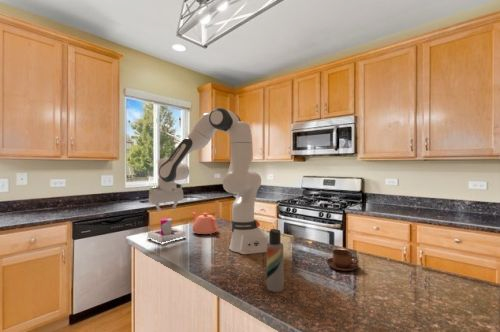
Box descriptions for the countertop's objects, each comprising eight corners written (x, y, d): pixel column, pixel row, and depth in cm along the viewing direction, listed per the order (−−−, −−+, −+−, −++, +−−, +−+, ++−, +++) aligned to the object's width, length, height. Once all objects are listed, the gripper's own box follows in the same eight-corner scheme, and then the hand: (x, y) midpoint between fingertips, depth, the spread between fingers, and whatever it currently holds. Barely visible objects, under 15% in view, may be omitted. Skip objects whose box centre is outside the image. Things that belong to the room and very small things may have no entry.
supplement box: (171, 237, 150) (171, 217, 150) (171, 240, 145) (171, 219, 145) (161, 238, 149) (161, 218, 149) (160, 241, 143) (160, 220, 143)
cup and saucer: (356, 263, 110) (355, 248, 110) (359, 275, 98) (359, 259, 98) (326, 260, 113) (326, 246, 113) (327, 271, 101) (327, 256, 101)
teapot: (183, 232, 161) (182, 212, 161) (201, 227, 173) (201, 209, 173) (207, 238, 148) (207, 216, 148) (225, 232, 160) (225, 212, 160)
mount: (171, 234, 158) (171, 226, 158) (185, 238, 148) (185, 230, 148) (147, 239, 146) (147, 231, 146) (161, 244, 137) (161, 235, 137)
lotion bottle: (273, 282, 92) (272, 226, 92) (286, 287, 88) (286, 229, 88) (263, 288, 87) (263, 230, 87) (277, 294, 84) (277, 232, 84)
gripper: (151, 187, 137) (152, 213, 137) (184, 184, 152) (185, 208, 152) (146, 187, 141) (146, 212, 141) (178, 184, 157) (178, 207, 157)
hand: (166, 210), depth 147 cm, fingers open, 8 cm apart
